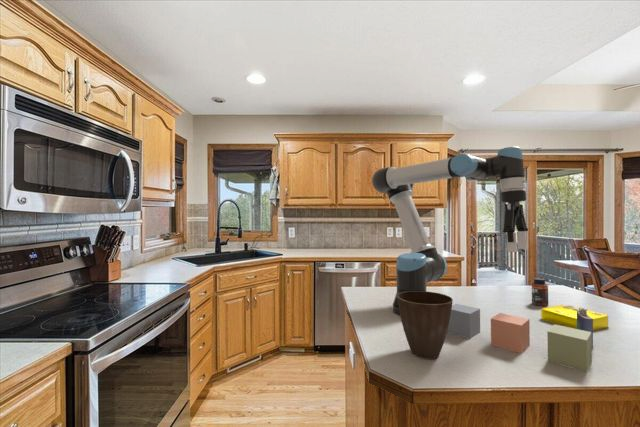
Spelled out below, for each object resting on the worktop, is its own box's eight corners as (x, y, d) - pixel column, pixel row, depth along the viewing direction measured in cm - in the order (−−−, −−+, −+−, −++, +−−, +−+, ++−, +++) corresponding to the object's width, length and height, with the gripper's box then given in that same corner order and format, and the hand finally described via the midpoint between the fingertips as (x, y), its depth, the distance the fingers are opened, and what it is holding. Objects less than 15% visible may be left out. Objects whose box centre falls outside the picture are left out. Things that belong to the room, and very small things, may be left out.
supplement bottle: (547, 303, 135) (547, 278, 135) (549, 307, 130) (548, 280, 130) (531, 301, 138) (531, 277, 138) (532, 305, 133) (531, 279, 133)
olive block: (587, 372, 76) (586, 340, 76) (547, 361, 82) (547, 331, 82) (591, 362, 81) (591, 332, 81) (554, 352, 87) (554, 324, 87)
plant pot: (386, 351, 88) (386, 295, 88) (417, 338, 97) (417, 288, 97) (433, 371, 76) (433, 307, 76) (463, 355, 85) (463, 298, 85)
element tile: (538, 319, 116) (538, 307, 116) (564, 315, 121) (564, 303, 121) (584, 333, 102) (584, 319, 102) (611, 327, 107) (611, 314, 107)
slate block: (470, 339, 97) (470, 313, 97) (445, 332, 103) (445, 308, 103) (480, 332, 102) (480, 308, 102) (456, 326, 108) (456, 303, 108)
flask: (594, 350, 88) (594, 313, 89) (581, 348, 90) (581, 311, 90) (585, 339, 96) (585, 305, 97) (573, 337, 98) (573, 303, 98)
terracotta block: (521, 353, 86) (521, 325, 86) (491, 344, 92) (490, 318, 92) (529, 345, 92) (529, 319, 92) (500, 337, 98) (500, 312, 98)
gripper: (515, 186, 97) (521, 253, 96) (533, 191, 115) (537, 248, 114) (490, 189, 103) (494, 253, 101) (510, 193, 120) (514, 247, 119)
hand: (517, 250), depth 108 cm, fingers open, 13 cm apart
